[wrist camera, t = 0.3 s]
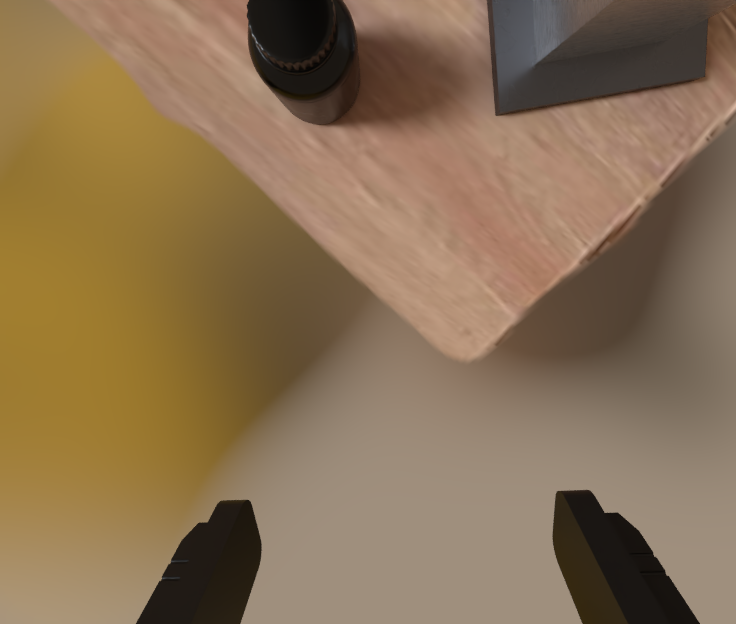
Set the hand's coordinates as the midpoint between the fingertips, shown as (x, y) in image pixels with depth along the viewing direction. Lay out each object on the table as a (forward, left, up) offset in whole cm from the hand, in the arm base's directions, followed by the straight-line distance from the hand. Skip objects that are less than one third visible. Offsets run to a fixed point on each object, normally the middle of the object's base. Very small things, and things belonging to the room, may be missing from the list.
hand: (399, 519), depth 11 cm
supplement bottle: (-18, -2, -28) cm, 34 cm away
